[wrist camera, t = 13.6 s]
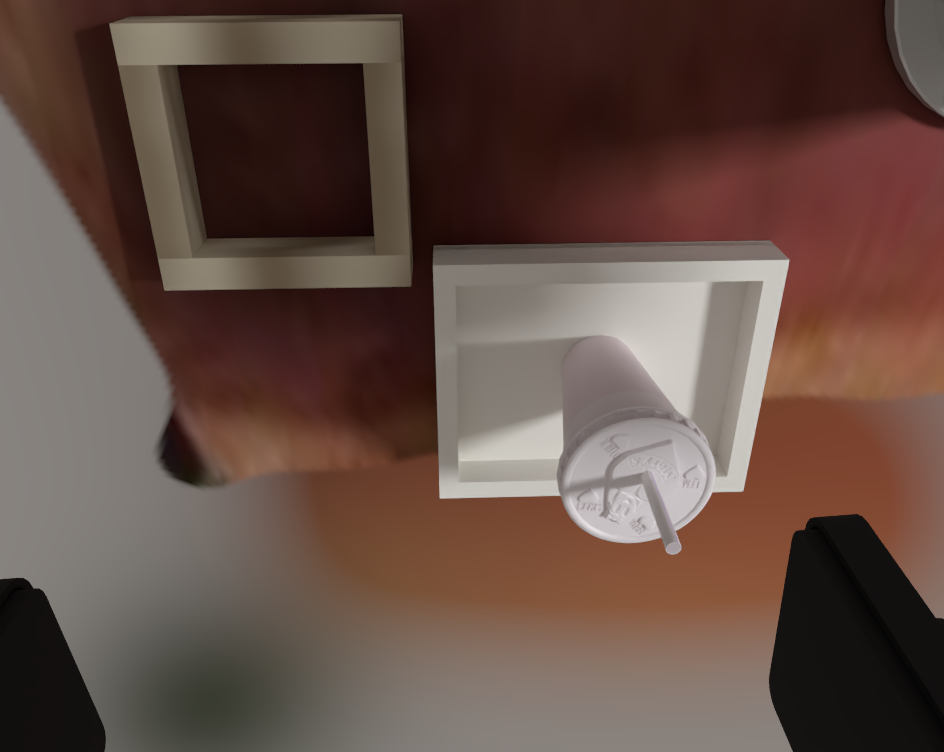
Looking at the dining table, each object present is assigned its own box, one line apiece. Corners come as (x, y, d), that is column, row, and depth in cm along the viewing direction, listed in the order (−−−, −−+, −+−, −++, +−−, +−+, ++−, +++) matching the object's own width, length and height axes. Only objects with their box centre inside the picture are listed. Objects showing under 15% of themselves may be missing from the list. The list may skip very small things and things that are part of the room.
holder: (402, 14, 33) (399, 21, 31) (413, 265, 39) (411, 286, 37) (131, 16, 33) (109, 23, 31) (180, 269, 38) (164, 290, 36)
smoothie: (686, 343, 41) (791, 527, 28) (616, 438, 43) (685, 643, 31) (577, 289, 39) (640, 460, 27) (511, 392, 42) (541, 589, 30)
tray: (770, 240, 39) (789, 259, 37) (728, 463, 45) (743, 491, 43) (433, 245, 38) (432, 265, 36) (439, 470, 45) (439, 498, 43)
